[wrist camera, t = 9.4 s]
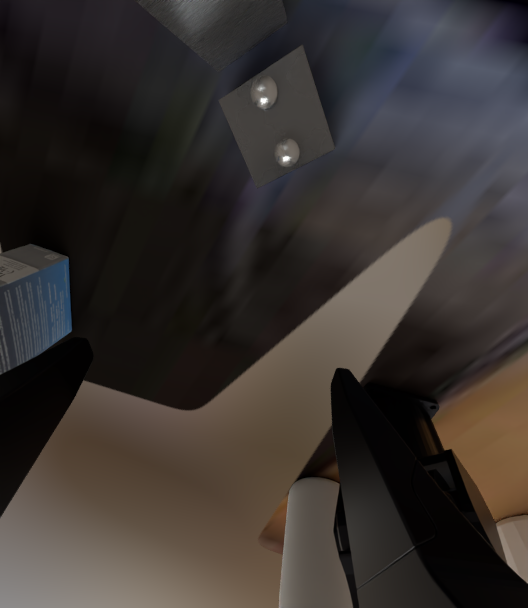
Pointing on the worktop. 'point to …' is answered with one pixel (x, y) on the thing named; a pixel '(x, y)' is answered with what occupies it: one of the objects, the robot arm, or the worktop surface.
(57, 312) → the label tape box
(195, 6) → the pale grey rectangular block
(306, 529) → the milk bottle
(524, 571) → the bottle
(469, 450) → the worktop surface
